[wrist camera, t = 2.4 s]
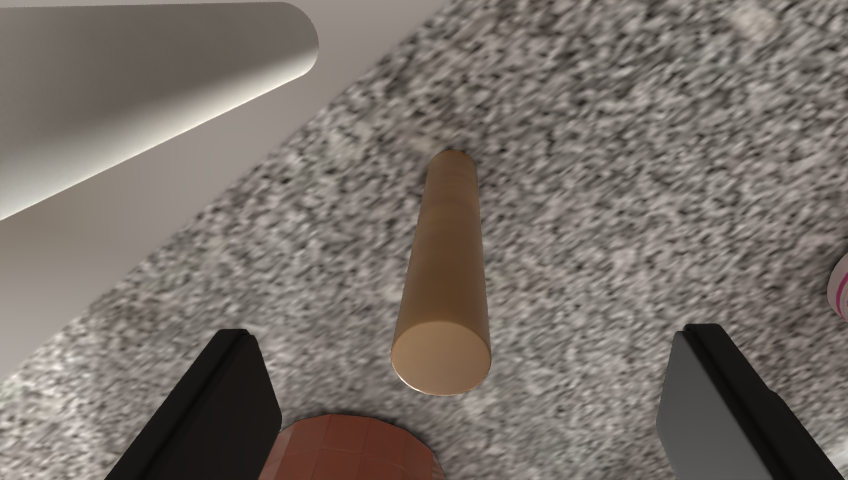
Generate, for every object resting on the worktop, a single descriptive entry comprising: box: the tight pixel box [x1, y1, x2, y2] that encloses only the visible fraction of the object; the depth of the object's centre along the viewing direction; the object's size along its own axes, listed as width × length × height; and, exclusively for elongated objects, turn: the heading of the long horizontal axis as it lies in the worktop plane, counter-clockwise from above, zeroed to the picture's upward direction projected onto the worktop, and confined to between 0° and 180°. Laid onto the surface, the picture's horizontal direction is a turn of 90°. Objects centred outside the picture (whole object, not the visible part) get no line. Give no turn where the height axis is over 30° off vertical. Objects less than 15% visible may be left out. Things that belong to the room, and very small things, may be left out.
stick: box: [391, 150, 492, 396], centre depth 16 cm, size 2×2×13 cm
